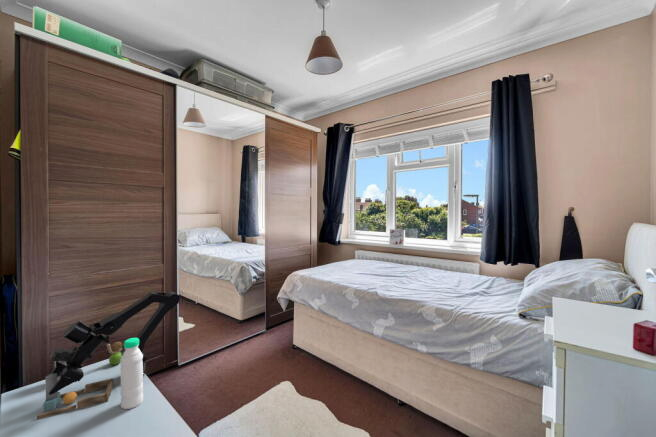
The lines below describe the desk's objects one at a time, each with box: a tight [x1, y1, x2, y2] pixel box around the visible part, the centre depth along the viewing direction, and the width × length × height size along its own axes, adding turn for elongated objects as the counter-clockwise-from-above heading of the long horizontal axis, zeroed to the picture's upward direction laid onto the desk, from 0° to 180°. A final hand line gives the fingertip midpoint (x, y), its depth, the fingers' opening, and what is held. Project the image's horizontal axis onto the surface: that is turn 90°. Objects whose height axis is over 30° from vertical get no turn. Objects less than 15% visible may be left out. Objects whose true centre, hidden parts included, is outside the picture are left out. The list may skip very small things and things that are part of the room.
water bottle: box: [119, 337, 144, 410], centre depth 106 cm, size 7×7×25 cm
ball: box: [62, 391, 78, 405], centre depth 106 cm, size 4×4×4 cm
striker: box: [42, 373, 62, 413], centre depth 103 cm, size 3×6×12 cm, turn 29°
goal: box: [35, 378, 115, 420], centre depth 107 cm, size 20×11×3 cm, turn 118°
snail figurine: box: [106, 341, 123, 366], centre depth 131 cm, size 5×6×12 cm
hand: (48, 388), depth 102 cm, fingers open, 9 cm apart
